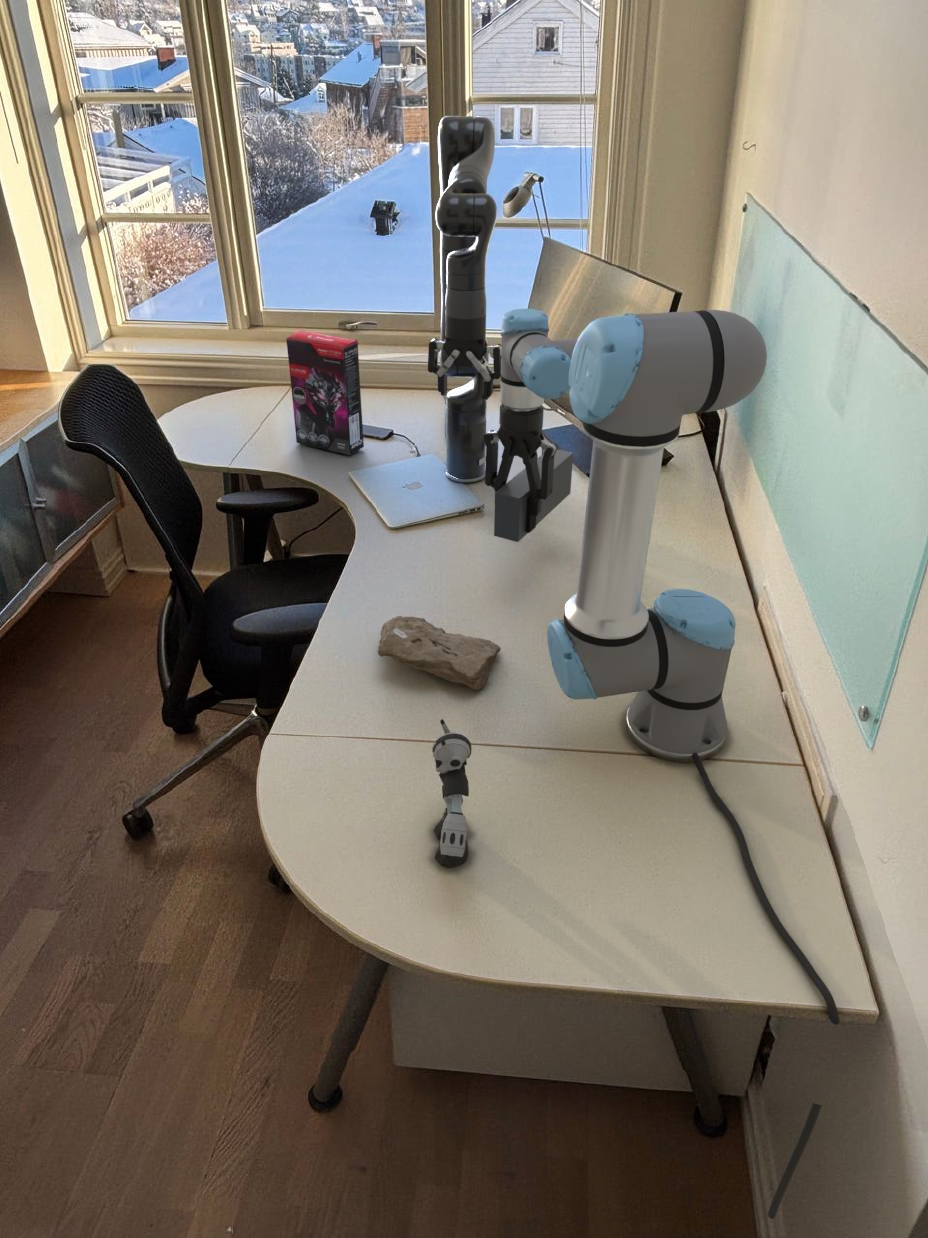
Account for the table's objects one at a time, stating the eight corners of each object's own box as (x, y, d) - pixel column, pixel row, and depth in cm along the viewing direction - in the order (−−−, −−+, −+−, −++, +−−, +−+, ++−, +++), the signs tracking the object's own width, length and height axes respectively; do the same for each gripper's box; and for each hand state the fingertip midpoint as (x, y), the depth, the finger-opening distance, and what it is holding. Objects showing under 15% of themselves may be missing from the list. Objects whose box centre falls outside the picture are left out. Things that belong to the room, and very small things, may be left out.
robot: (474, 902, 115) (476, 785, 104) (435, 903, 115) (433, 787, 104) (466, 791, 132) (467, 679, 120) (432, 792, 131) (430, 680, 120)
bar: (518, 542, 166) (519, 498, 161) (493, 535, 168) (494, 492, 163) (570, 493, 183) (573, 452, 178) (547, 488, 185) (550, 447, 180)
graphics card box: (294, 443, 234) (283, 336, 218) (310, 434, 239) (300, 328, 224) (350, 457, 227) (343, 347, 212) (366, 447, 232) (360, 339, 217)
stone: (354, 663, 151) (360, 631, 149) (385, 632, 165) (392, 602, 162) (474, 706, 148) (483, 673, 145) (496, 671, 161) (504, 640, 159)
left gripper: (508, 308, 171) (505, 393, 180) (434, 302, 174) (435, 386, 183) (498, 320, 165) (496, 406, 174) (422, 313, 168) (424, 399, 177)
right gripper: (579, 406, 156) (569, 529, 169) (485, 388, 164) (483, 507, 176) (561, 420, 151) (552, 546, 163) (465, 401, 158) (464, 522, 171)
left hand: (465, 396), depth 178 cm, fingers open, 8 cm apart
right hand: (516, 525), depth 170 cm, fingers closed on bar, 5 cm apart
